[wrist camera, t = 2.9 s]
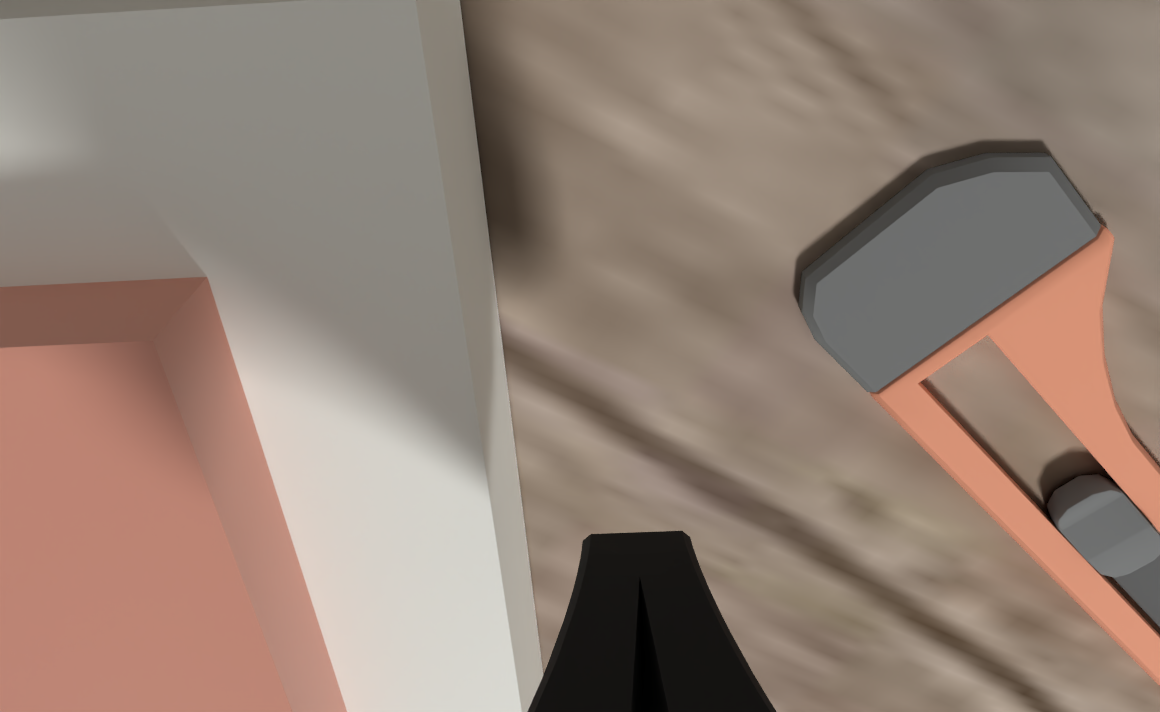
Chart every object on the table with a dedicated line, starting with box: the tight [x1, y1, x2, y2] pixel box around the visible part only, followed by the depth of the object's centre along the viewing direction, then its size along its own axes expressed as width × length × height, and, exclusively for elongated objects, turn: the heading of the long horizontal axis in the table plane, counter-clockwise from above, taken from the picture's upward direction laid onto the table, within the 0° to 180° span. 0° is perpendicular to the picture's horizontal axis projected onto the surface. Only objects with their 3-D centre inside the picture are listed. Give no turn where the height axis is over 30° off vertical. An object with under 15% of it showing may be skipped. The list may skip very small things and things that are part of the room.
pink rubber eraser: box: [0, 277, 347, 712], centre depth 12 cm, size 6×9×2 cm, turn 3°
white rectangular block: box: [0, 0, 543, 712], centre depth 14 cm, size 11×15×3 cm
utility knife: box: [799, 153, 1160, 686], centre depth 16 cm, size 4×1×18 cm
